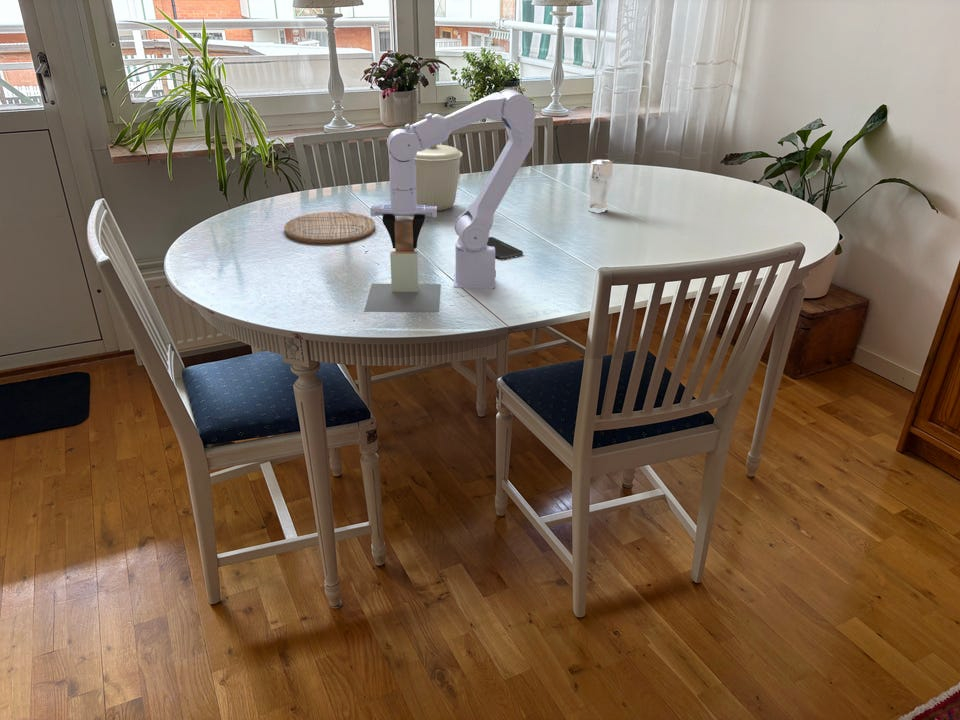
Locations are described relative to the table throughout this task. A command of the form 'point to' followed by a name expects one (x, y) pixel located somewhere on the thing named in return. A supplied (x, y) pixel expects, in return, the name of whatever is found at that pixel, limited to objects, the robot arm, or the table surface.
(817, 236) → the table surface
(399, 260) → the flat slab
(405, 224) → the wooden block
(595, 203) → the beer glass
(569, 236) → the table surface
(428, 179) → the canister
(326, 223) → the trivet
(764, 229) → the table surface
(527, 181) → the table surface
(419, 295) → the rubber mat
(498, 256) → the phone
